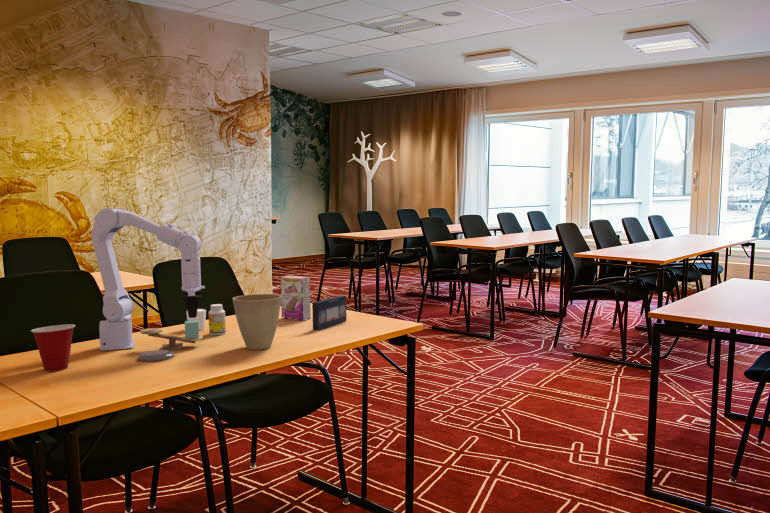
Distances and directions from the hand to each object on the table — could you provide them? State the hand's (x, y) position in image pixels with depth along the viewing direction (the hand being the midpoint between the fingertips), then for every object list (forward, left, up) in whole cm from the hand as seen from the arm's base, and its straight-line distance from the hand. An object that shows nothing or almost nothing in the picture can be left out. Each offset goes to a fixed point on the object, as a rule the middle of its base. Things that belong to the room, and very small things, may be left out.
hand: (192, 315), depth 195 cm
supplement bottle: (+8, +16, -10) cm, 21 cm away
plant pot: (+20, -9, -10) cm, 24 cm away
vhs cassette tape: (+48, +17, -10) cm, 52 cm away
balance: (-6, -1, -10) cm, 12 cm away
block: (0, -1, -7) cm, 7 cm away
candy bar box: (+38, +35, -10) cm, 53 cm away
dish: (-10, -12, -10) cm, 18 cm away
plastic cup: (-36, -16, -10) cm, 41 cm away
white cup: (+1, +27, -10) cm, 29 cm away
